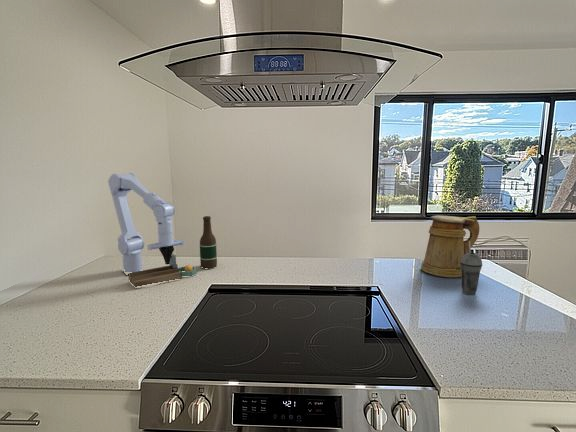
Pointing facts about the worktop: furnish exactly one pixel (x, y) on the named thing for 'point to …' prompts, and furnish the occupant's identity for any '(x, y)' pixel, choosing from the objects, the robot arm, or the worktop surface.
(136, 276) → the brown wooden moulding block
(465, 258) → the beverage cup
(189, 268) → the ball
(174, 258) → the gray l-shaped bracket
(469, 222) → the tankard
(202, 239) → the beer bottle
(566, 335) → the worktop surface
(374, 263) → the worktop surface
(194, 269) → the teal shallow dish
